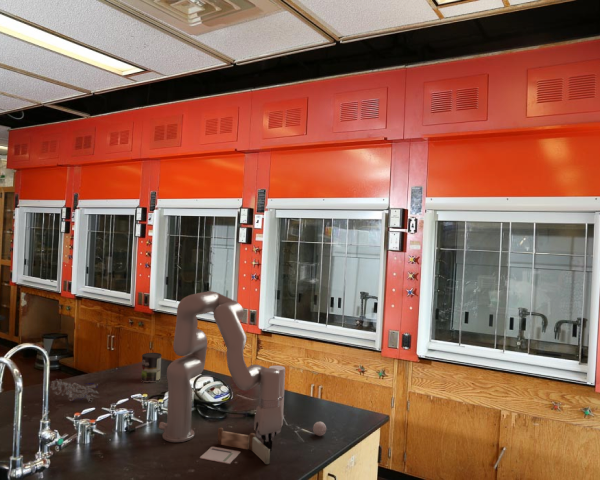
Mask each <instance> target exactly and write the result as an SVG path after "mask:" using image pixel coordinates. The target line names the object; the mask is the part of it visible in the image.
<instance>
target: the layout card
mask: <svg viewBox="0 0 600 480" xmlns="http://www.w3.org/2000/svg"><path fill="white" fill-rule="evenodd" d="M240 454H241V451H239V450H234V449H228V448H223V447H217V446H210V447H209V449H208V450H206V451H205V452H204V453H203V454H202V455H200V457H199V459H201V460H208V461H210V462H211V461H213V462H218V463H221V464H227V465H231V463H233V461H234V460H235V459H236V458H237V457H238V456H240Z"/></svg>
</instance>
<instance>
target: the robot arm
mask: <svg viewBox="0 0 600 480" xmlns="http://www.w3.org/2000/svg"><path fill="white" fill-rule="evenodd" d="M209 313H213V319H214V321H215V323H216V326H217V328H218V330H219V332H220V334H221V338H222V339H223V342H224V344H225V346H226V363H227V368H228V371H229V374H230V375H231V378H232V381H233V382H234V385H236V387H237V388H238V389H240V390H242V391H249V390H251V389H253V388H255V386H256V387H257V386H258V385H259V404H258V405H257V407H256V409H255V415H254V421H253V431H254V432H255V437H256V438H257V439H262V440H263V441H262V443H263V444H264V445H265V446H266V447H267V448H268V449H270V452H272V450H273V441H274V439H275V437H276V435H278V434H280V433H281V432H282V426H283V425H282V413H281V406H280V404H279V401H280V400H282V398H281V397H280V371H279V370H277V369H274V368H269V367H265V366H262V365H260V364H252V365H251V364H250V365H249V366H247V364H246V361H245V357H244V350H245V346H246V343H247V338H248V336H247V334H246V332H245V330H244V329H243V326H242V324H241V320H242V319H243V318H244V313H245V312H244V308H243V306H242V304H240V303H239V302H238V301H236V300H234V299H231V298H230V297H228V296H225V295H223V294H221V293H220V292H216V291H213V290H211V291H205V292H204V291H203V292H198V293H193V294H192V293H191V294H189V295H187V296H185V297H183V298H182V299H181V300H180V301H179V303H178V305H177V309H176V323H175V329H174V337H173V339H174V340H173V351H174V353H175V355H177V356H179V358H176V359H175V360H173V361H172V362H171V363H169V365H168V366H167V368H166V379H167V392H168V393H167V415H166V422H164V421H160V422H159V426H158V429H159V430H163V433H162V439H163V440H164V441H167V442H170V443H184V442H186V441H187V442H188V441H189V440H192V439H193V438H194V437H195V431H194V430H193V429H192V411H193V410H192V407H193V388H192V385H191V380H192V379H194V378H196V377H198V376H200V375H201V374H202V373H203V372H204V370H205V369H204V368H205V365H206V359H207V358H206V356H207V350H208V337H207V335H206V333H205V332H204V330H202V329H199V328H198V325H199V324H198V317H197V316H199V315H204V314H209Z"/></svg>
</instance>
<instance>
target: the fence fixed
mask: <svg viewBox="0 0 600 480" xmlns="http://www.w3.org/2000/svg"><path fill="white" fill-rule="evenodd" d="M255 435H256V432H255V433H254V432H251V433H249V435H248V434H243V433H239V432H231V431H226V430H224V428H223V427H218V429H217V442H216V443H217V445H218V446H220V445H222V446H226V447H233V448H237V449H243V450H249V451H252V440H253V437H255ZM252 452H253V451H252Z"/></svg>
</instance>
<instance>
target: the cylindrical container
mask: <svg viewBox="0 0 600 480" xmlns="http://www.w3.org/2000/svg"><path fill="white" fill-rule="evenodd" d="M268 368H274V369H277V370H279V371H280V397H281V398H282V400H280V401H279V404H280V406H281V413H282V426H283V425H284V406H285V405H284V403H285V386H286V385H285V383H286V382H285V381H286V379H285V378H286V367H285V366H284V365H283V366H282V365H271V366H269V367H268Z"/></svg>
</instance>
